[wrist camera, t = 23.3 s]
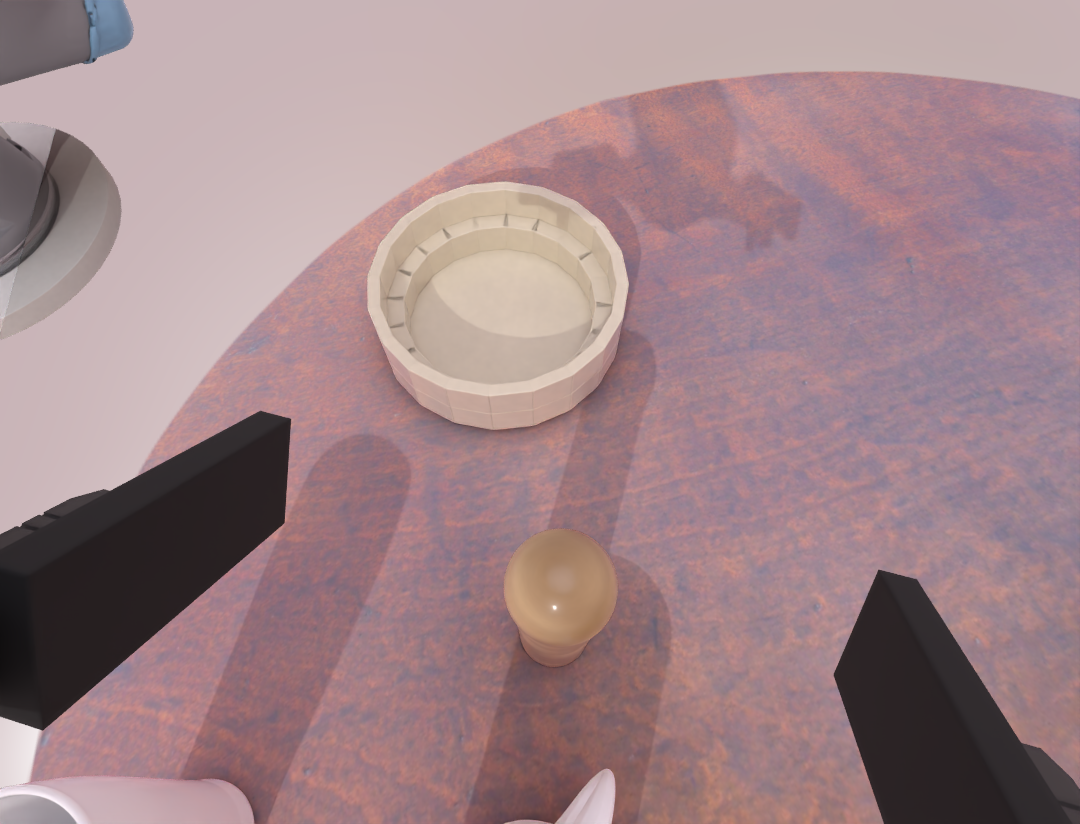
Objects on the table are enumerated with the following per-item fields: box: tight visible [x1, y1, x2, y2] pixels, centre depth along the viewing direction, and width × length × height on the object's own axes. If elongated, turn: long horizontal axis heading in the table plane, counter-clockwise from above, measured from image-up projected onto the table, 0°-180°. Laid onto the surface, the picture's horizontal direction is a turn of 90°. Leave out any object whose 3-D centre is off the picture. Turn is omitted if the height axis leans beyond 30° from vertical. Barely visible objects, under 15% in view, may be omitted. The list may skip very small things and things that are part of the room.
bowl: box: [367, 181, 629, 430], centre depth 45 cm, size 17×17×6 cm
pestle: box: [504, 528, 618, 667], centre depth 32 cm, size 5×5×15 cm
